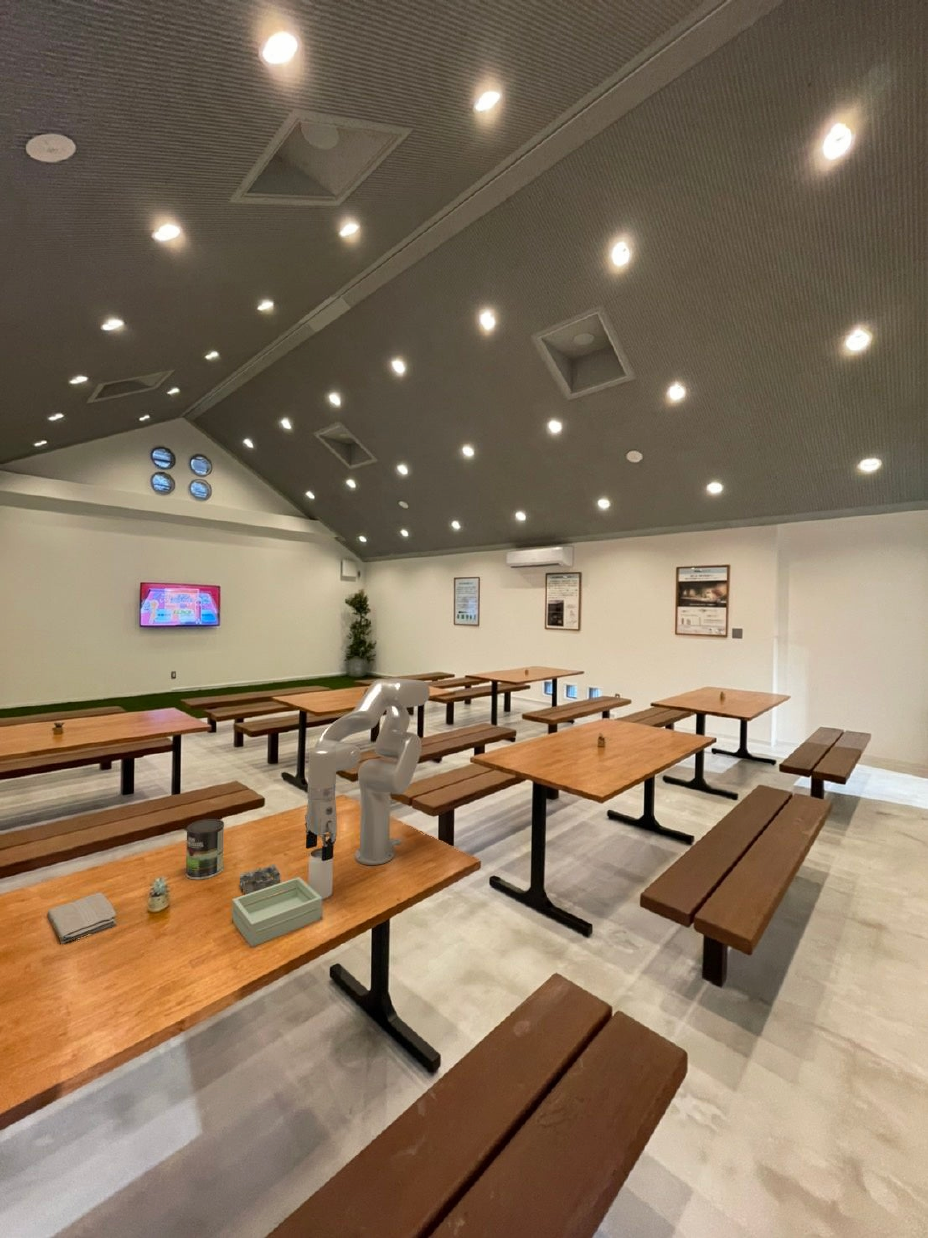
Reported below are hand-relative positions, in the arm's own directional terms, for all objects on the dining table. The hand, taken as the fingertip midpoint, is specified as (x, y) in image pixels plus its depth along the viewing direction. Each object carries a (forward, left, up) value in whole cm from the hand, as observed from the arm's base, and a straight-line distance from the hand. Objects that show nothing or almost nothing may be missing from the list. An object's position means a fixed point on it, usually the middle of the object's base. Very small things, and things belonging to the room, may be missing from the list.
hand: (319, 853), depth 147 cm
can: (-1, 0, -12) cm, 12 cm away
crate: (+13, +4, -12) cm, 18 cm away
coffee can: (+20, -34, -12) cm, 42 cm away
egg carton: (+10, -16, -13) cm, 23 cm away
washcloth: (+51, -27, -13) cm, 59 cm away
